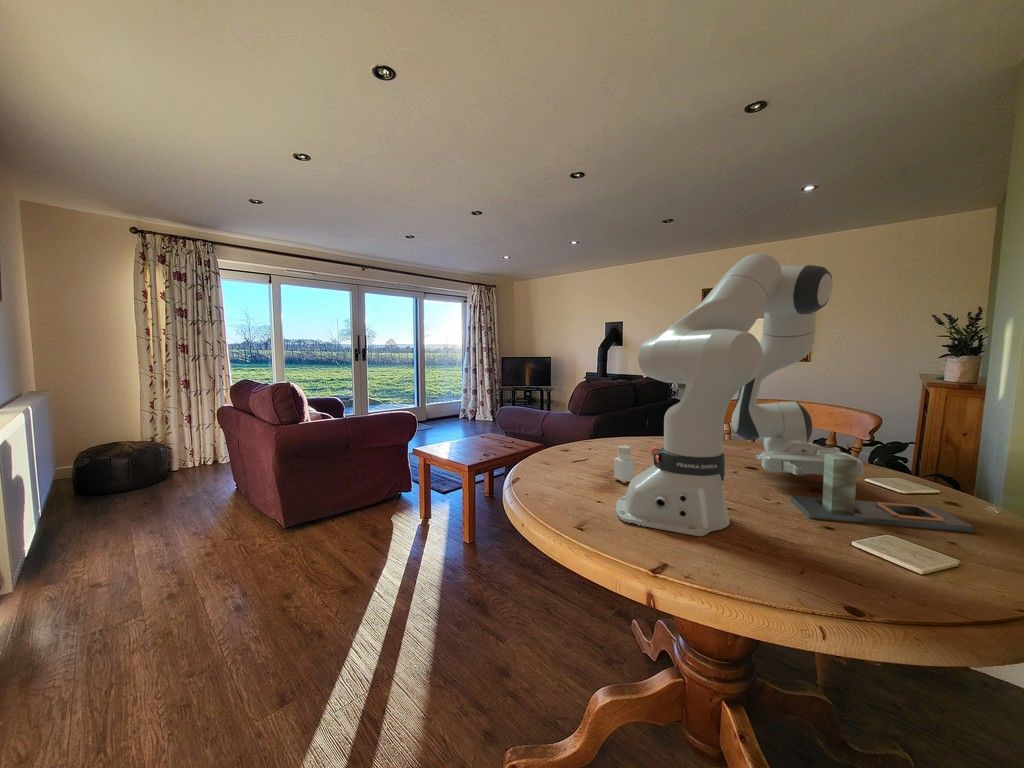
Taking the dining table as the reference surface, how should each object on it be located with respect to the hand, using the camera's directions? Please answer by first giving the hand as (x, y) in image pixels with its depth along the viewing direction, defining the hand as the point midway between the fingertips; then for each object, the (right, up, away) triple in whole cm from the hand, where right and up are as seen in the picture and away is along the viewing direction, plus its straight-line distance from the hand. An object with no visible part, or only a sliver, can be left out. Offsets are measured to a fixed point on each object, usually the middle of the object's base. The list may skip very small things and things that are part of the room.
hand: (823, 473), depth 89 cm
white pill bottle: (-41, -6, +16) cm, 44 cm away
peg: (-2, -7, -6) cm, 9 cm away
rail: (+4, -7, -8) cm, 11 cm away
